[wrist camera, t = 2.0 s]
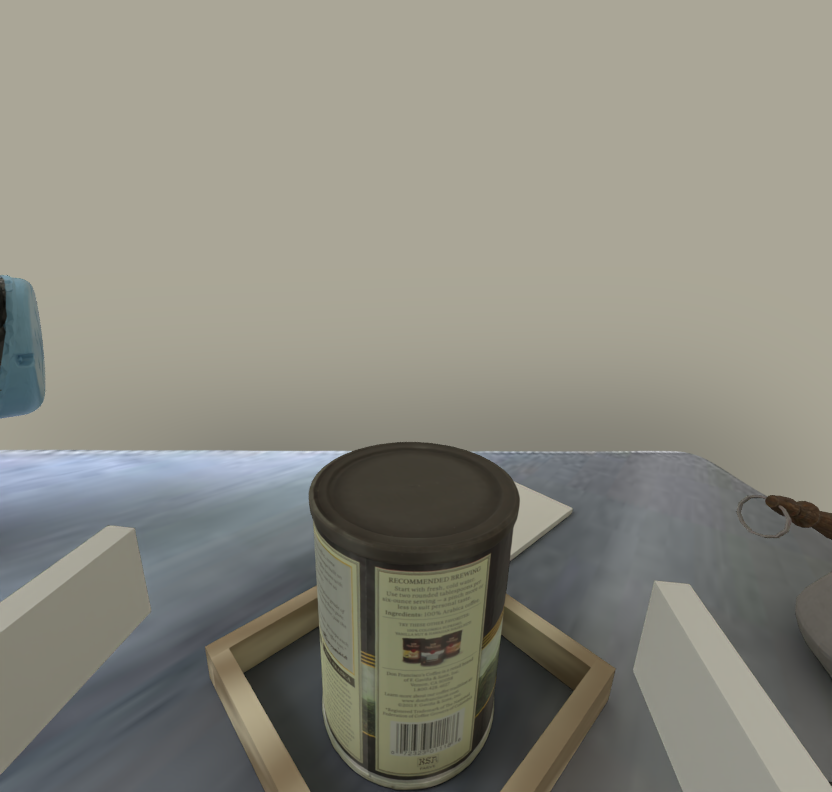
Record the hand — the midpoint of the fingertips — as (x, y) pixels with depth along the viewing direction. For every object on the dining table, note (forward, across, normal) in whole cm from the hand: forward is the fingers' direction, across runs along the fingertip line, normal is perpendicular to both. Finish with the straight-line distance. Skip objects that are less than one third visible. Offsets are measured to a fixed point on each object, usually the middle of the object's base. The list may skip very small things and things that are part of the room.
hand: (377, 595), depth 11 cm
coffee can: (+10, 0, -16) cm, 19 cm away
